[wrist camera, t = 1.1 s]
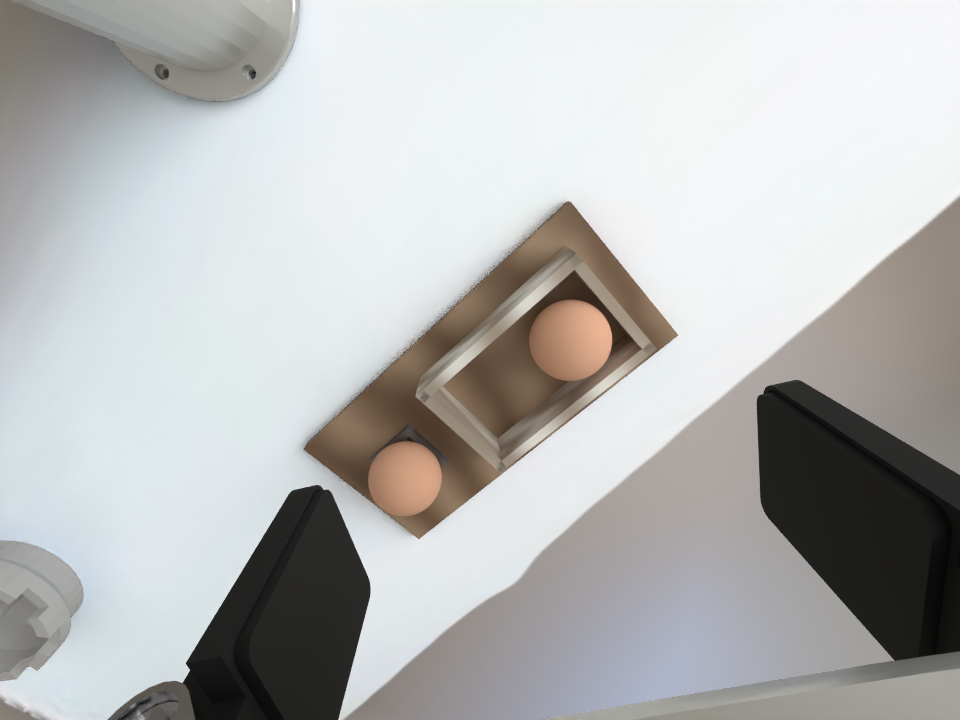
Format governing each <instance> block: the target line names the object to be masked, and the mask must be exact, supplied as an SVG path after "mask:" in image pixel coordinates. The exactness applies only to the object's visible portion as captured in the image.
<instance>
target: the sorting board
mask: <svg viewBox="0 0 960 720" xmlns="http://www.w3.org/2000/svg"><path fill="white" fill-rule="evenodd" d="M570 299H572V300H580V301H584V302H587V303H589V304H591V305H592V306H594V307H595V308H597V309H598V310H599V311H600V312H601V313H602V314H603V315H604V317H605V318H606V320H607V321H608V323H609V326H610V329H611V333H612V346H611V351H610V354H609V356H608V359H607V360H606V362H605V363H604V365H603V366H602V367H601V368H600V369H599V370H598V371H597V372H596V373H594V374H593V375H591V376H589V377H587V378H584V379H581V380H576V381H564V380H560V379H556V378H554V377H552V376H550V375H548V374H546V373H545V372H544V371H543V370H542V369H541V368H540V367H539V366H538V365H537V364H536V362H535V360H534V359H533V356H532V354H531V351H530V345H529V336H530V331H531V327H532V325H533V322H534V321H535V319H536V317H537V316H538V315H539V314H540V313H541V312H542V311H543V310H544V309H545V308H546V307H548V306H549V305H551V304H553V303H555V302H558V301H562V300H570ZM677 336H678V334H677V333H676V332H675V331H674V329H673V328H672V327H671V326H670V324H669V323H668V322H667V321H666V320H665V318H664V317H663V316H662V315H661V313H660V312H659V311H658V310H657V308H656V307H655V306H654V305H653V303H652V302H651V301H650V300H649V298H648V297H647V296H646V295H645V294H644V292H643V291H642V290H641V289H640V287H639V286H638V285H637V284H636V282H635V281H634V280H633V279H632V277H631V276H630V275H629V274H628V272H627V271H626V270H625V269H624V268H623V266H622V265H621V264H620V263H619V261H618V260H617V259H616V258H615V256H614V255H613V254H612V253H611V251H610V250H609V249H608V248H607V246H606V245H605V244H604V243H603V241H602V240H601V239H600V238H599V237H598V235H597V234H596V233H595V232H594V230H593V229H592V228H591V227H590V225H589V224H588V223H587V222H586V220H585V219H584V218H583V217H582V215H581V214H580V213H579V212H578V211H577V209H576V208H575V207H574V206H573V204H572V203H571V202H569V201H567V202H566V203H565V204H564V205H563V206H562V207H561V208H560V209H559V210H558V211H557V212H556V213H555V214H553V215H552V216H551V217H550V218H549V219H548V220H547V221H546V222H545V223H544V224H543V225H542V226H541V227H539V228H538V229H537V230H536V231H535V232H534V233H533V234H532V235H531V236H530V237H529V238H528V239H527V240H525V241H524V242H523V243H522V244H521V245H520V246H519V247H518V248H517V249H516V250H515V251H514V252H513V253H511V254H510V255H509V256H508V257H507V258H506V259H505V260H504V261H503V262H502V263H501V264H500V265H499V266H497V267H496V268H495V269H494V270H493V271H492V272H491V273H490V274H489V275H488V276H487V277H486V278H485V279H483V280H482V281H481V282H480V283H479V284H478V285H477V286H476V287H475V288H474V289H473V290H472V291H471V292H469V293H468V294H467V295H466V296H465V297H464V298H463V299H462V300H461V301H460V302H459V303H458V304H457V305H455V306H454V307H453V308H452V309H451V310H450V311H449V312H448V313H447V314H446V315H445V316H444V317H443V318H441V319H440V320H439V321H438V322H437V323H436V324H435V325H434V326H433V327H432V328H431V329H430V330H429V331H427V332H426V333H425V334H424V335H423V336H422V337H421V338H420V339H419V340H418V341H417V342H416V343H415V344H413V345H412V346H411V347H410V348H409V349H408V350H407V351H406V352H405V353H404V354H403V355H402V356H401V357H399V358H398V359H397V360H396V361H395V362H394V363H393V364H392V365H391V366H390V367H389V368H388V369H387V370H385V371H384V372H383V373H382V374H381V375H380V376H379V377H378V378H377V379H376V380H375V381H374V382H373V383H371V384H370V385H369V386H368V387H367V388H366V389H365V390H364V391H363V392H362V393H361V394H360V395H359V396H357V397H356V398H355V399H354V400H353V401H352V402H351V403H350V404H349V405H348V406H347V407H346V408H345V409H343V410H342V411H341V412H340V413H339V414H338V415H337V416H336V417H335V418H334V419H333V420H332V421H331V422H329V423H328V424H327V425H326V426H325V427H324V428H323V429H322V430H321V431H320V432H319V433H318V434H317V435H315V436H314V437H313V438H312V439H311V440H310V441H309V442H308V443H307V444H306V446H305V448H304V450H305V451H307V452H308V453H309V454H311V455H312V456H313V457H314V458H316V459H317V460H318V461H320V462H321V463H322V464H323V465H325V466H326V467H327V468H329V469H330V470H331V471H332V472H334V473H335V474H336V475H338V476H339V477H340V478H341V479H343V480H344V481H345V482H346V483H348V484H349V485H350V486H352V487H353V488H354V489H355V490H357V491H358V492H359V493H361V494H362V495H363V496H364V497H366V498H367V499H368V500H370V501H371V502H372V503H373V504H375V505H376V506H377V507H378V508H380V507H379V506H378V505H377V504H376V502H375V501H374V499H373V498H372V496H371V493H370V490H369V485H368V476H369V470H370V467H371V465H372V463H373V461H374V459H375V458H376V456H377V455H378V454H379V453H380V452H381V451H382V450H383V449H385V448H386V447H388V446H389V445H392V444H394V443H397V442H402V441H410V442H416V443H419V444H421V445H423V446H425V447H426V448H428V449H429V450H430V451H431V452H432V453H433V454H434V455H435V457H436V458H437V460H438V462H439V464H440V468H441V473H442V482H441V487H440V490H439V493H438V495H437V497H436V498H435V500H434V501H433V503H432V504H431V505H430V506H429V507H427V508H426V509H425V510H423V511H422V512H420V513H417V514H415V515H411V516H396V515H392V514H390V513H388V512H386V511H384V510H383V509H381V508H380V509H381V510H382V511H384V512H385V513H386V514H387V515H389V516H390V517H391V518H393V519H394V520H395V521H396V522H398V523H399V524H400V525H402V526H403V527H404V528H405V529H407V530H408V531H409V532H410V533H412V534H413V535H414V536H416V537H417V538H418V539H420V538H421V537H422V536H423V535H425V534H426V533H427V532H428V531H430V530H431V529H432V528H434V527H435V526H436V525H437V524H439V523H440V522H441V521H442V520H444V519H445V518H446V517H448V516H449V515H450V514H451V513H453V512H454V511H455V510H456V509H458V508H459V507H460V506H462V505H463V504H464V503H465V502H467V501H468V500H469V499H470V498H472V497H473V496H474V495H476V494H477V493H478V492H479V491H481V490H482V489H483V488H484V487H486V486H487V485H488V484H490V483H491V482H492V481H493V480H495V479H496V478H497V477H498V476H500V475H501V474H502V473H504V472H505V471H506V470H507V469H509V468H510V467H511V466H512V465H514V464H515V463H516V462H518V461H519V460H520V459H521V458H523V457H524V456H525V455H526V454H528V453H529V452H530V451H532V450H533V449H534V448H535V447H537V446H538V445H539V444H540V443H542V442H543V441H544V440H546V439H547V438H548V437H549V436H551V435H552V434H553V433H554V432H556V431H557V430H558V429H560V428H561V427H562V426H563V425H565V424H566V423H567V422H569V421H570V420H571V419H572V418H574V417H575V416H576V415H577V414H579V413H580V412H581V411H583V410H584V409H585V408H586V407H588V406H589V405H590V404H591V403H593V402H594V401H595V400H597V399H598V398H599V397H600V396H602V395H603V394H604V393H605V392H607V391H608V390H609V389H611V388H612V387H613V386H614V385H616V384H617V383H618V382H619V381H621V380H622V379H623V378H625V377H626V376H627V375H628V374H630V373H631V372H632V371H633V370H635V369H636V368H637V367H639V366H640V365H641V364H642V363H644V362H645V361H646V360H647V359H649V358H650V357H651V356H653V355H654V354H655V353H656V352H658V351H659V350H660V349H661V348H663V347H664V346H665V345H667V344H668V343H669V342H670V341H672V340H673V339H674V338H675V337H677Z"/></svg>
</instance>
